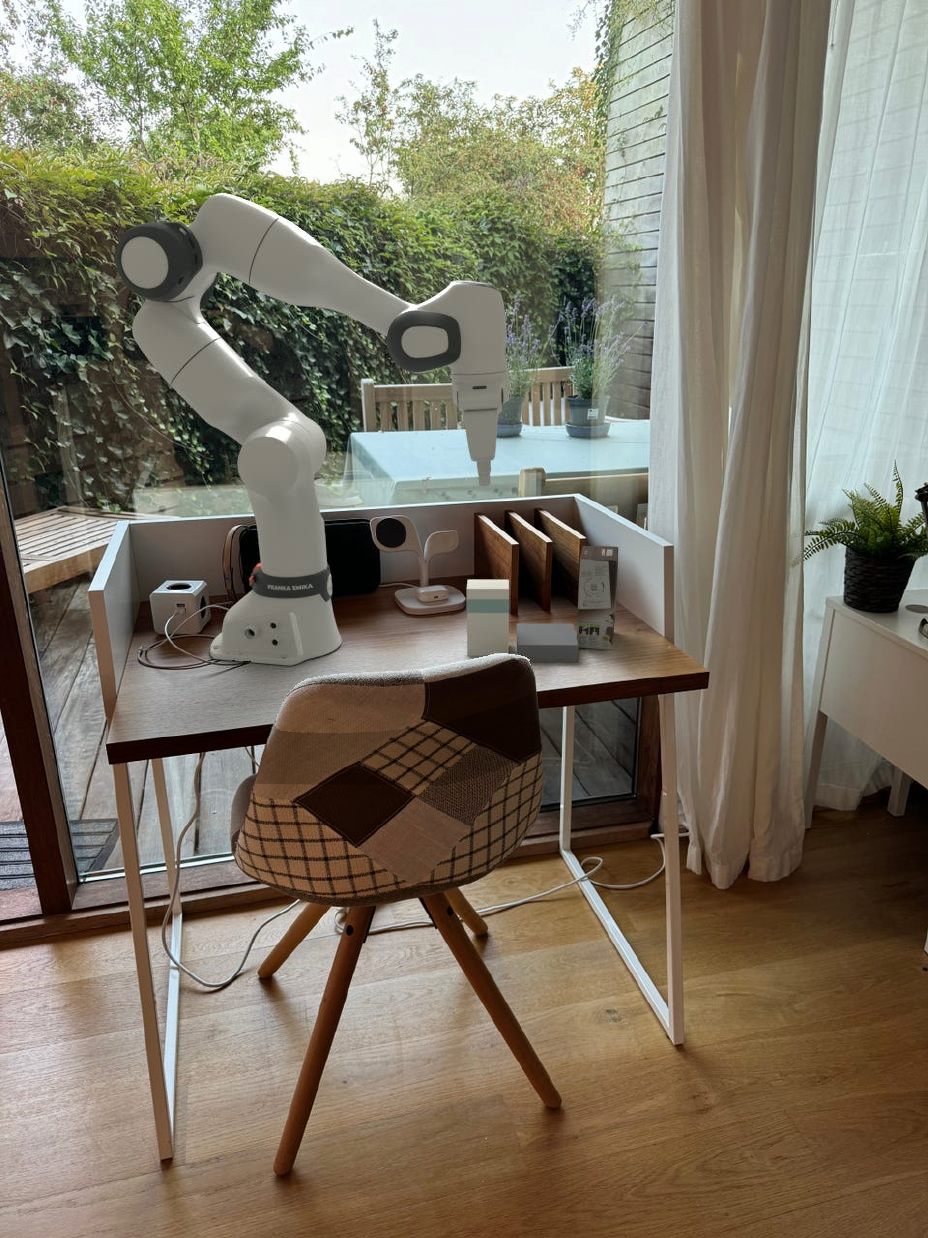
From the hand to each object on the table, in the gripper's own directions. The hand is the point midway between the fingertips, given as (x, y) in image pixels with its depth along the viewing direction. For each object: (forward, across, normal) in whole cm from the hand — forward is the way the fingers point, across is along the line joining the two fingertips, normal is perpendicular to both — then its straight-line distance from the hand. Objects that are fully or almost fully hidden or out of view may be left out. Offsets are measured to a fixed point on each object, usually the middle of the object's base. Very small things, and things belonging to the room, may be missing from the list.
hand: (485, 479), depth 141 cm
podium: (+30, 0, +9) cm, 31 cm away
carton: (+30, 0, -1) cm, 30 cm away
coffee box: (+31, -5, +18) cm, 36 cm away
